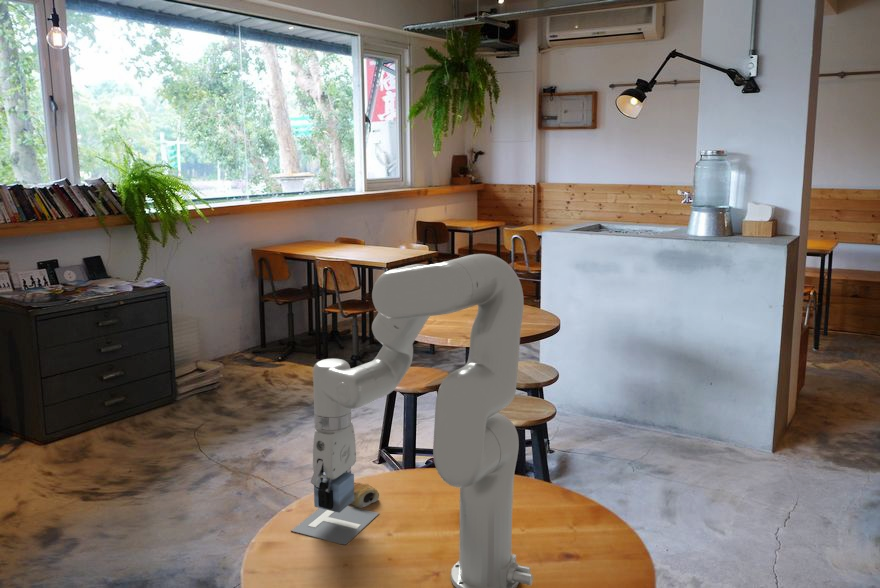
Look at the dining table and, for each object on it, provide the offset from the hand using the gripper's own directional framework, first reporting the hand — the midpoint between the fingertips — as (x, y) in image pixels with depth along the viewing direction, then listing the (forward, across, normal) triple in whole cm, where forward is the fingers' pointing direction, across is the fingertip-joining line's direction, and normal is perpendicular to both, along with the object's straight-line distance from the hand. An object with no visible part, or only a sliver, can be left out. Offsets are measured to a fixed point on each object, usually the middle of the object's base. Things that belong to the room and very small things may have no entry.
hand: (334, 499), depth 160 cm
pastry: (+6, +11, 0) cm, 12 cm away
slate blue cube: (+1, 0, 0) cm, 1 cm away
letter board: (+5, 0, 0) cm, 5 cm away
